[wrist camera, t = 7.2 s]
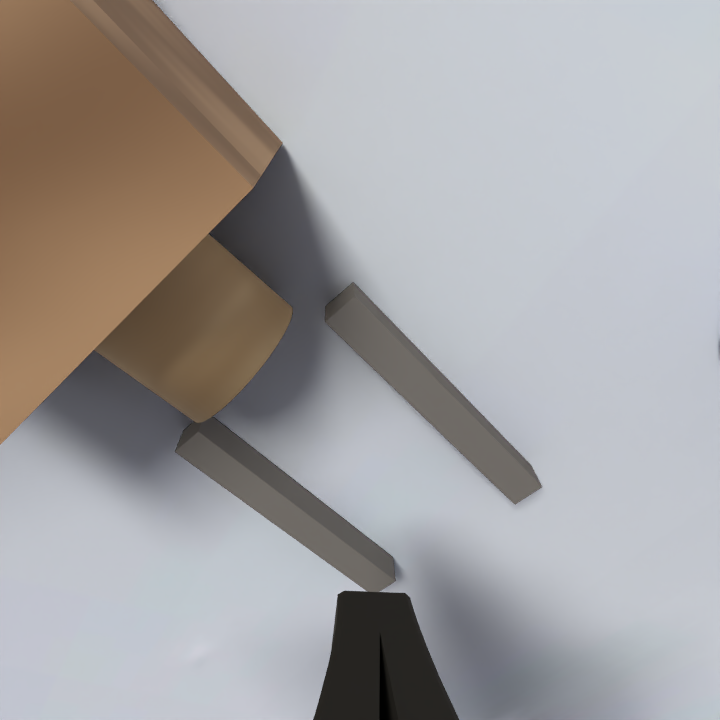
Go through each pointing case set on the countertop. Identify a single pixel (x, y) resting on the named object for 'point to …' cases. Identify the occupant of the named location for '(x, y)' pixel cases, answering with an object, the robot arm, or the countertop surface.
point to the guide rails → (307, 513)
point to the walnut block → (103, 176)
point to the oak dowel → (200, 332)
